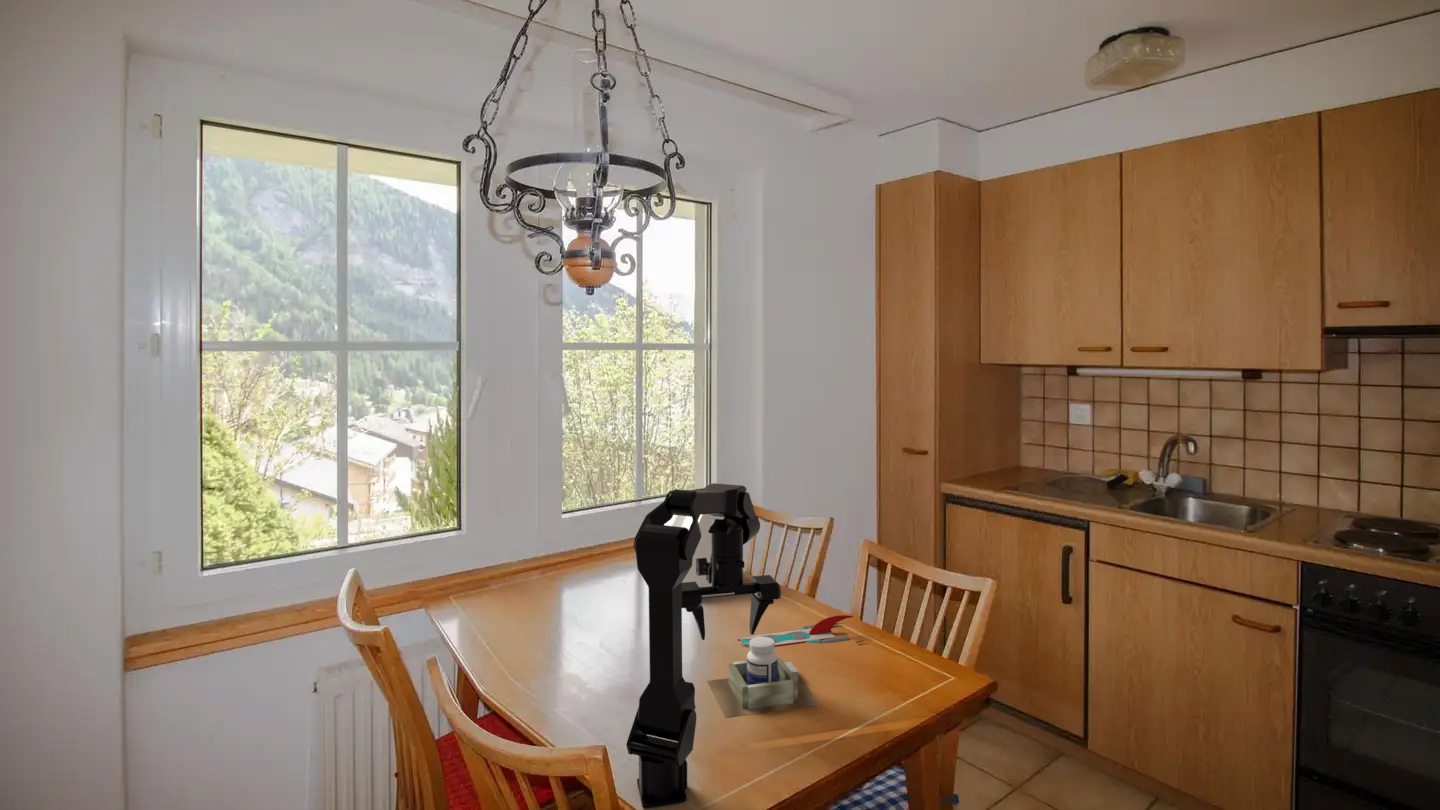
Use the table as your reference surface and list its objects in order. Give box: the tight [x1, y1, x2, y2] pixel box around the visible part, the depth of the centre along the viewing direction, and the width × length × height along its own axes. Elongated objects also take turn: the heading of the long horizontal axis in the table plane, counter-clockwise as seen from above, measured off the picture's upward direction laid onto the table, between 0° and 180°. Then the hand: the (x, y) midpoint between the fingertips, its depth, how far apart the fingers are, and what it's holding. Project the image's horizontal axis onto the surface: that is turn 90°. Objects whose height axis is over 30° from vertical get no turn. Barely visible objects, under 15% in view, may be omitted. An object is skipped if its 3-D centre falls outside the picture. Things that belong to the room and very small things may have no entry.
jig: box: [706, 657, 822, 719], centre depth 133 cm, size 18×14×5 cm
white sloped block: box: [664, 514, 724, 587], centre depth 192 cm, size 19×15×25 cm
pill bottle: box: [746, 637, 778, 685], centre depth 132 cm, size 6×6×10 cm
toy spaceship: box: [737, 614, 865, 648], centre depth 157 cm, size 27×11×5 cm, turn 110°
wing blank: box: [783, 661, 799, 680], centre depth 139 cm, size 3×4×2 cm
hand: (727, 636), depth 129 cm, fingers open, 9 cm apart
